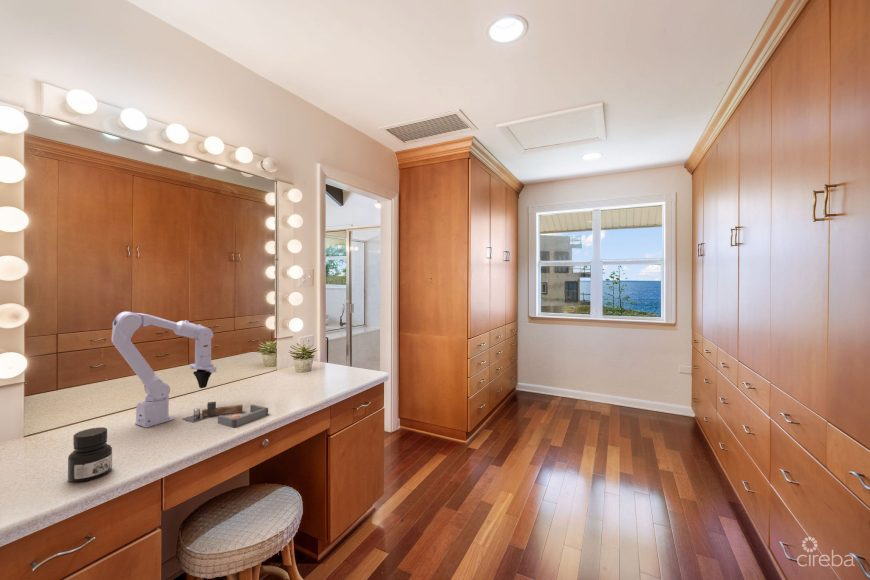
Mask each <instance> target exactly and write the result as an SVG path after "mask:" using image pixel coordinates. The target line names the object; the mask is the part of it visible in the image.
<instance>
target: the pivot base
mask: <svg viewBox="0 0 870 580" xmlns="http://www.w3.org/2000/svg"><path fill="white" fill-rule="evenodd" d="M211 417H212V416H203V417H202V412H201V408H199V407H198V408H194V409H193V414H192V415H190V416H187V417H184V418H182V419H181V420H183V421H186V422H190V423H197V422H199V421H203V420H206V419H208V418H211Z"/></svg>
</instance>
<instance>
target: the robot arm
mask: <svg viewBox="0 0 870 580" xmlns="http://www.w3.org/2000/svg"><path fill="white" fill-rule="evenodd" d="M148 326H155V327H159V328H164V329H168V330H171V331H172V332H173V333H174V335H177V336H182V337H185V338H191V339H195V340H194V341H195V342H194V363H190V365H189V369H190V370H196V371H193V375H194V376H195V379H196V381H197V384H198V387H199V389H204V388H205V389H206V388H207V385H208V383H209V380H210V377H211V375H212V374H213V373H217V366H214V363H212V339H213V338H214V333H213V330H212V329H211V328H210V327H207V326H203V325H202V324H200V323H198V324H196V323H192V322H190V321H189V320H187V319H185V320H180V321H177V322H175V321H172V320H168V319H165V318H162V317H158V316H154V315H152V314H151V315H150V314H148V313H147V314H146V313H139V312H132V311H122V312H119V313H118V314H117V315H116V316H115V318H114V320H113V321H112V328H111V329H112V330H111V331H112V332H111V339H110V340H111V343H112V344H113V346H114V347H115V348H116V350H117V351H118V352H119V354H120V355H121V356H122V357H123V359H124V360H125V361H126V363H127V364H128V365H129V367H130V368H131V369H132V370H133V372H134V373H135V374H136V376H137V377H138V378H139V380H140V381H141V383H142V384H143V386H144V392H145V393H146V394H147V395H146V397H145V398H144V400H143V401H141V402H139V403H137V405H136V409H135V411H136V413H135V414H136V417H135V419H136V420H135V423H134V424H135V425H138V426H141V427H144V428H149V427H154V426H156V425H160V424H162V423H166V422H169V421H173V420H175V418H174V417H172V416H169V414H170V413H169V412H170V409H169V408H170V407H169V404H170V403H169V401H170V393H171V387H170V385H169V384H168V383H165V382H164V381H163V380H161V378H159V376H158V375H157V374H156V373H155V371H154V370H153V369H152V367H151V366H150V365H149V363H148V362H147V360H146V359H145V358H144V357H143V355H142V354H141V353H140V351H139V350H138V349H137V347H136V346H135V344H134V343H133V342H132V340H131V339H132V338H133V335H134V334H135V332H136V331H137V330H138V329H140V327H144V328H145V327H148Z"/></svg>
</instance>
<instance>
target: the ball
mask: <svg viewBox="0 0 870 580" xmlns="http://www.w3.org/2000/svg"><path fill="white" fill-rule="evenodd" d="M238 417H241V415H240V414H236V413H235V414H233V415H232V416H231V417H230V418H234V419H235V418H238Z"/></svg>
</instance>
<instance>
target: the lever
mask: <svg viewBox="0 0 870 580" xmlns="http://www.w3.org/2000/svg"><path fill="white" fill-rule="evenodd" d="M243 410H244V409H243V404H237V405H228V406H221V407H217V401H208V402H207V407H206V409H205V408H204V409H202V410H201V411H202V412H201V413H202V417H203V416H211V417H212V416H216V415H217V416H218V415H223V414H229V413H230V414H231V413H237V412H239V413H243V412H244V411H243Z"/></svg>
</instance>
